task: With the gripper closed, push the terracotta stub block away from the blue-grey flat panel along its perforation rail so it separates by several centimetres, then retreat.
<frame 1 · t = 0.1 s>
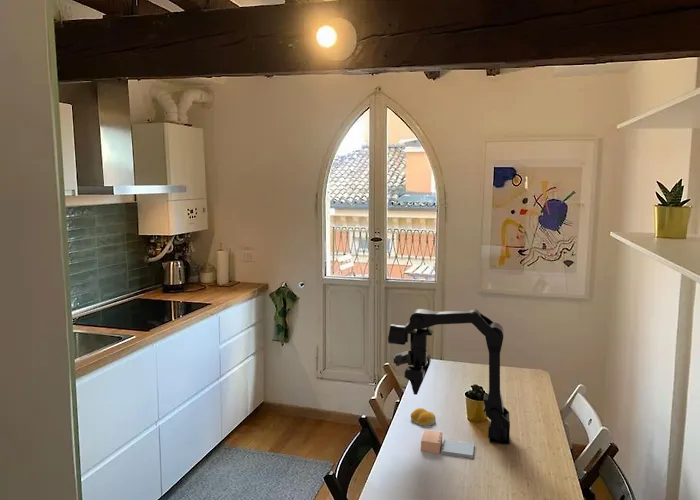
hand: (417, 389, 189), 15 cm above the table, fingers open, 9 cm apart
stub: (431, 440, 179), point 2 cm above the table, slide at 0.0 cm
bread roll: (422, 421, 198), on the table
blue-grey flat panel: (457, 449, 177), on the table
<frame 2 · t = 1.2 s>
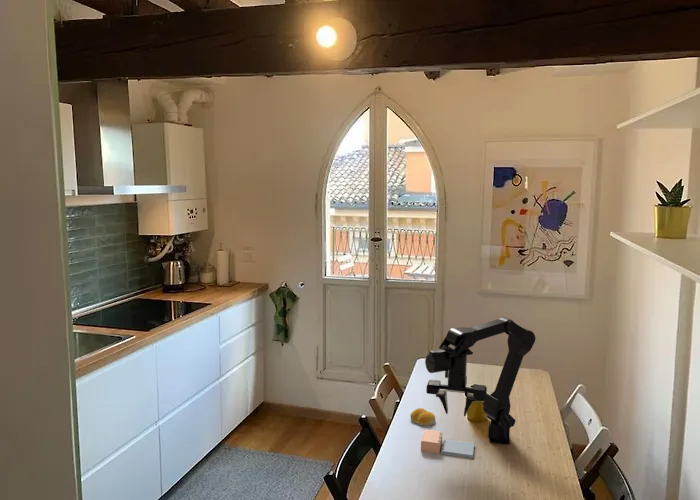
hand: (455, 414, 175), 12 cm above the table, fingers open, 5 cm apart
nothing on the table moved.
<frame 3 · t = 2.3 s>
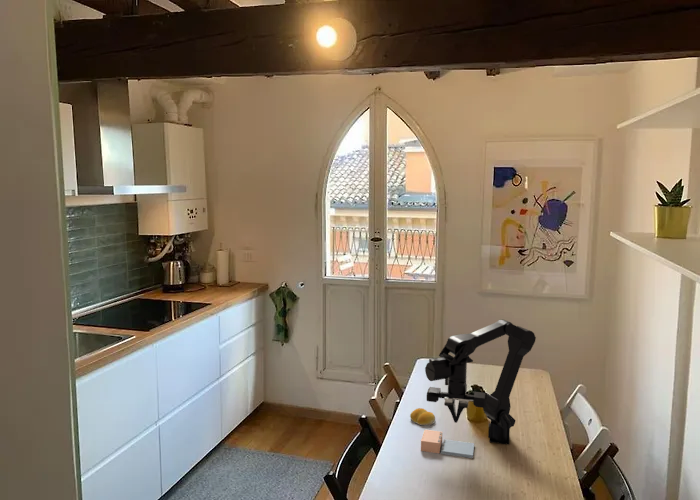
hand: (455, 422, 176), 9 cm above the table, fingers closed
nothing on the table moved.
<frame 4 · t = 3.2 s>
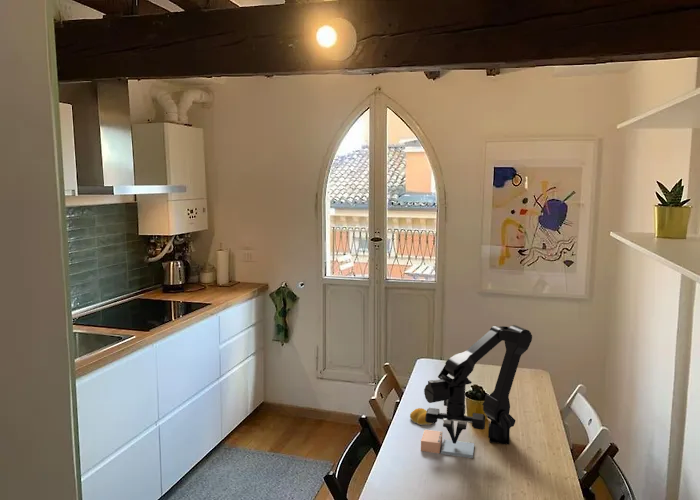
hand: (454, 443, 177), 2 cm above the table, fingers closed
nothing on the table moved.
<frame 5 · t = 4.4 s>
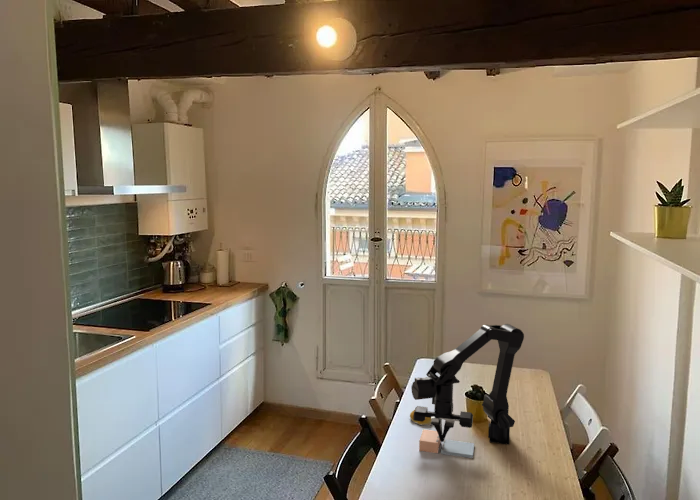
hand: (442, 441, 178), 2 cm above the table, fingers closed
stub: (430, 440, 179), point 2 cm above the table, slide at 0.5 cm, touching gripper
everything else where it was.
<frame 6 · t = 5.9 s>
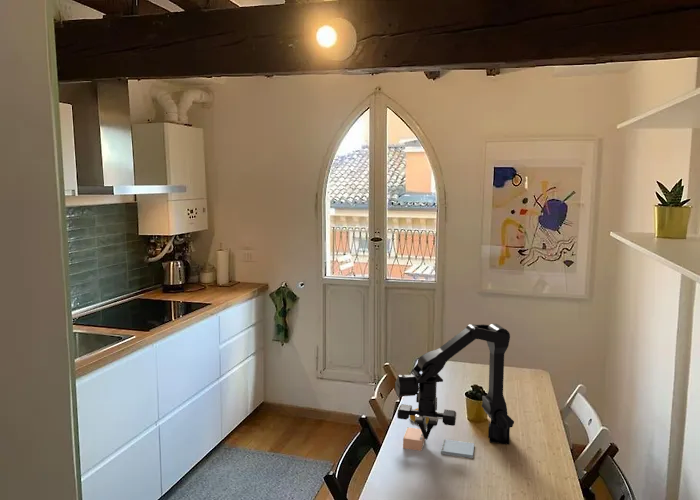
hand: (426, 439, 179), 2 cm above the table, fingers closed
stub: (414, 438, 180), point 2 cm above the table, slide at 5.8 cm, touching gripper
everything else where it was.
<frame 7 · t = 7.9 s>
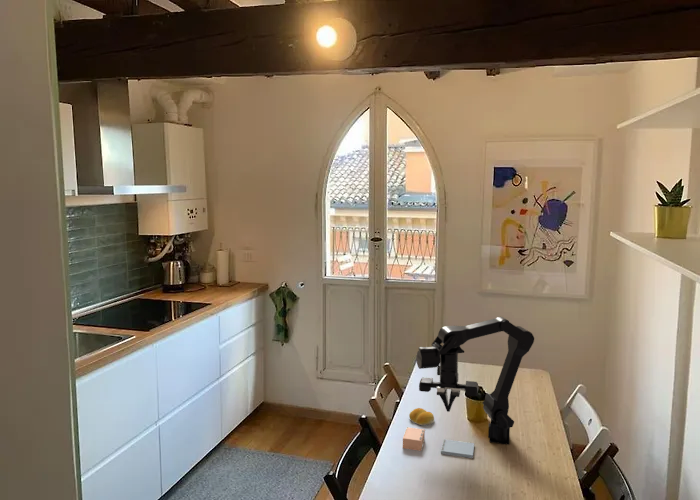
hand: (448, 411, 179), 12 cm above the table, fingers closed
stub: (413, 438, 180), point 2 cm above the table, slide at 6.0 cm
everything else where it was.
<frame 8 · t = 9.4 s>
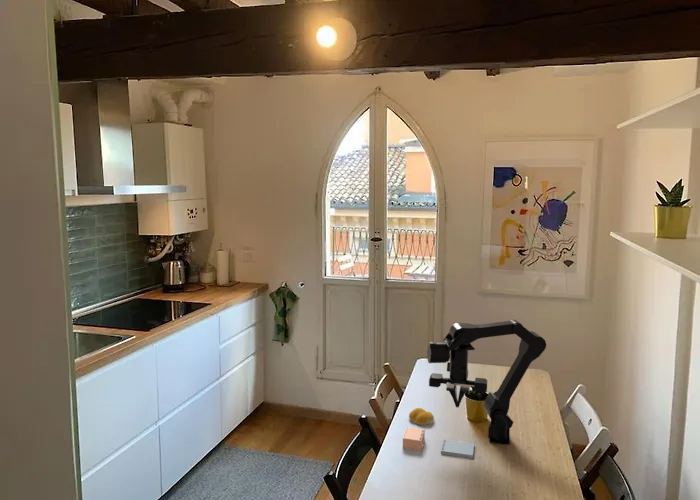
hand: (457, 407, 181), 12 cm above the table, fingers closed
nothing on the table moved.
at the end: stub slide at 6.0 cm; stub touching nothing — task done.
